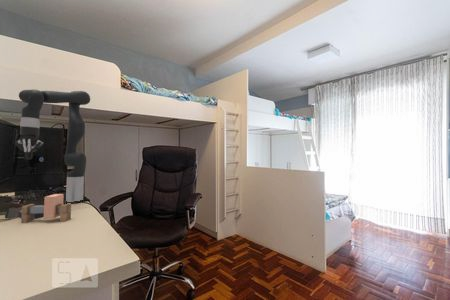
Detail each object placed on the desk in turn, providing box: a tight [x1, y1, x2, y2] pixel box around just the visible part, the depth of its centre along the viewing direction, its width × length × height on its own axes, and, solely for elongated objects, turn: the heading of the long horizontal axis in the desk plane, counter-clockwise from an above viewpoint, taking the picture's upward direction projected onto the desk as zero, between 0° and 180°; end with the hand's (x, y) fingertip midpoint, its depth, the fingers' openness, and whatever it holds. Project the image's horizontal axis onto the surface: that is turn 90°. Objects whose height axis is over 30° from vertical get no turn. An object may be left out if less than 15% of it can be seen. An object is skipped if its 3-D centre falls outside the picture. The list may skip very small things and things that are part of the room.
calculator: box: [18, 209, 44, 220], centre depth 109 cm, size 11×4×15 cm
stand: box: [20, 203, 72, 224], centre depth 99 cm, size 5×18×8 cm, turn 99°
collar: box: [43, 193, 65, 220], centre depth 100 cm, size 7×4×10 cm, turn 9°
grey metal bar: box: [28, 204, 61, 214], centre depth 99 cm, size 3×16×3 cm, turn 99°
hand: (28, 159), depth 110 cm, fingers closed
